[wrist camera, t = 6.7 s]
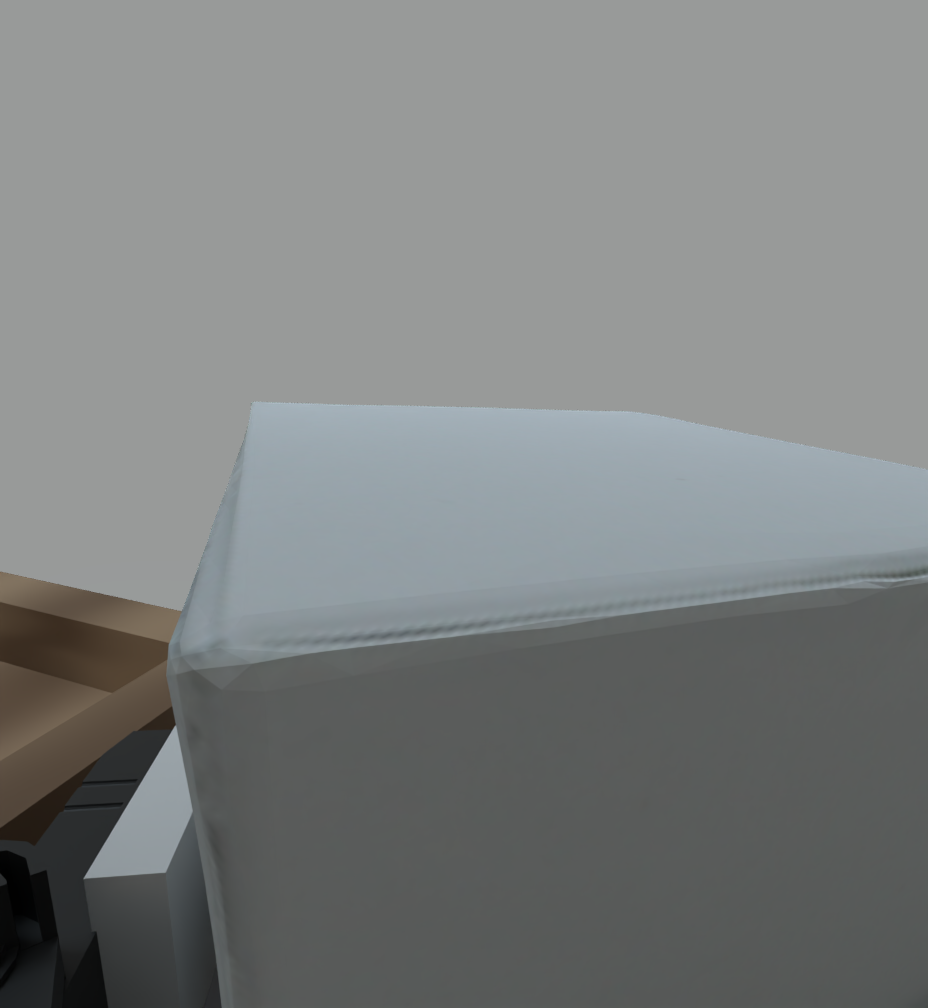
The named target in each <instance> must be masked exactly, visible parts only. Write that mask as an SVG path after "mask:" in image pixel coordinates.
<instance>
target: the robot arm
mask: <svg viewBox="0 0 928 1008" xmlns="http://www.w3.org/2000/svg"><path fill="white" fill-rule="evenodd" d="M216 963H217V962H216V954H215V947H214V940H213V933H212V927H211V920H210V913H209V906H208V900H207V893H206V886H205V879H204V873H203V868H202V862H201V856H200V850H199V844H198V839H197V833H196V827H195V821H194V815H193V810H192V804H191V799H190V794H189V789H188V784H187V779H186V774H185V769H184V763H183V758H182V753H181V748H180V743H179V738H178V733H177V728H176V725H175V727H174V729H170V730H145V731H133V732H132V733H130V734H129V735H128V736H126V737H125V738H124V739H122V740H121V741H120V742H118V743H117V744H116V745H114V746H113V747H112V748H110V749H109V750H108V751H106V752H105V753H104V754H103V755H102V756H101V757H100V759H99V760H98V761H97V763H96V764H95V765H94V767H93V768H92V770H91V771H90V772H89V774H88V775H87V776H86V778H85V779H84V780H83V782H82V786H81V787H78V788H77V790H76V791H75V792H74V794H73V795H72V796H71V798H70V799H69V801H68V802H67V803H66V805H65V808H64V811H63V812H60V813H59V814H58V815H57V817H56V818H55V819H54V821H53V822H52V823H51V825H50V826H49V828H48V829H47V830H46V832H45V833H44V834H43V836H42V837H41V838H40V840H39V841H38V842H37V844H36V845H35V846H33V845H32V844H30V843H29V842H26V841H11V840H0V1008H204V1004H205V1001H206V997H207V994H208V991H209V987H210V984H211V980H212V977H213V973H214V970H215V967H216Z"/></svg>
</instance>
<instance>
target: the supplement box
mask: <svg viewBox="0 0 928 1008" xmlns="http://www.w3.org/2000/svg"><path fill="white" fill-rule="evenodd" d="M166 676H167V682H168V687H169V692H170V697H171V702H172V707H173V712H174V717H175V723H176V728H177V733H178V738H179V743H180V748H181V753H182V758H183V763H184V769H185V774H186V779H187V784H188V789H189V794H190V799H191V804H192V810H193V815H194V821H195V827H196V833H197V839H198V844H199V850H200V856H201V862H202V868H203V873H204V879H205V886H206V893H207V900H208V906H209V913H210V920H211V927H212V933H213V940H214V947H215V954H216V962H217V971H218V980H219V988H220V997H221V1006H222V1008H928V470H927V469H923V468H918V467H914V466H909V465H904V464H899V463H894V462H889V461H884V460H879V459H874V458H869V457H864V456H859V455H853V454H848V453H843V452H838V451H833V450H828V449H823V448H817V447H812V446H807V445H801V444H797V443H791V442H786V441H781V440H776V439H771V438H766V437H761V436H755V435H751V434H746V433H741V432H735V431H731V430H726V429H721V428H716V427H711V426H706V425H701V424H697V423H692V422H687V421H682V420H678V419H673V418H668V417H663V416H658V415H652V414H645V413H638V412H626V411H624V412H623V411H575V410H542V409H511V408H508V409H507V408H478V407H435V406H384V405H335V404H306V403H275V402H272V403H271V402H252V403H251V413H250V418H249V424H248V427H247V431H246V434H245V438H244V441H243V443H242V446H241V449H240V452H239V454H238V457H237V460H236V463H235V465H234V468H233V471H232V474H231V477H230V480H229V483H228V486H227V488H226V491H225V494H224V497H223V499H222V502H221V505H220V507H219V510H218V513H217V515H216V518H215V521H214V524H213V526H212V529H211V533H210V536H209V539H208V542H207V545H206V548H205V550H204V553H203V556H202V559H201V562H200V564H199V567H198V570H197V572H196V575H195V578H194V580H193V583H192V586H191V589H190V592H189V594H188V597H187V599H186V602H185V605H184V607H183V610H182V612H181V615H180V617H179V620H178V623H177V625H176V628H175V630H174V633H173V636H172V638H171V641H170V643H169V647H168V660H167V673H166Z"/></svg>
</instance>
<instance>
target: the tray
mask: <svg viewBox="0 0 928 1008" xmlns="http://www.w3.org/2000/svg"><path fill="white" fill-rule="evenodd" d="M181 612H182V611H177V610H173V609H168V608H163V607H159V606H154V605H150V604H145V603H141V602H136V601H132V600H127V599H123V598H118V597H113V596H109V595H104V594H100V593H95V592H91V591H86V590H81V589H77V588H72V587H68V586H63V585H59V584H54V583H50V582H45V581H41V580H36V579H32V578H27V577H22V576H18V575H13V574H9V573H4V572H0V840H11V841H26V842H29V843H30V844H32V845H33V846H35V845H36V844H37V842H38V841H39V840H40V838H41V837H42V836H43V834H44V833H45V832H46V830H47V829H48V828H49V826H50V825H51V823H52V822H53V821H54V819H55V818H56V817H57V815H58V814H59V813H60V812H63V811H64V808H65V805H66V803H67V802H68V801H69V799H70V798H71V796H72V795H73V794H74V792H75V791H76V790H77V788H78V787H81V786H82V782H83V780H84V779H85V778H86V776H87V775H88V774H89V772H90V771H91V770H92V768H93V767H94V765H95V764H96V763H97V761H98V760H99V759H100V757H101V756H102V755H103V754H104V753H105V752H106V751H108V750H109V749H110V748H112V747H113V746H114V745H116V744H117V743H118V742H120V741H121V740H122V739H124V738H125V737H126V736H128V735H129V734H130V733H132V732H133V731H145V730H170V729H174V727H175V725H176V723H175V717H174V712H173V707H172V702H171V697H170V692H169V687H168V682H167V676H166V673H167V660H168V647H169V643H170V641H171V638H172V636H173V633H174V630H175V628H176V625H177V623H178V620H179V617H180V615H181Z"/></svg>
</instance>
